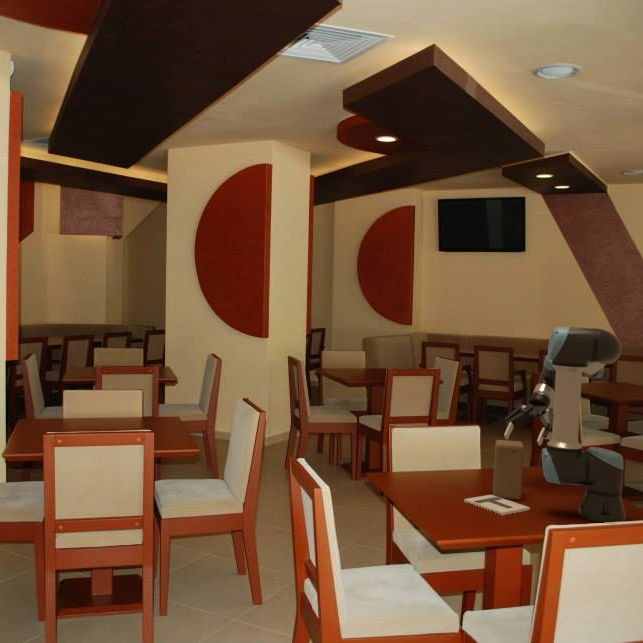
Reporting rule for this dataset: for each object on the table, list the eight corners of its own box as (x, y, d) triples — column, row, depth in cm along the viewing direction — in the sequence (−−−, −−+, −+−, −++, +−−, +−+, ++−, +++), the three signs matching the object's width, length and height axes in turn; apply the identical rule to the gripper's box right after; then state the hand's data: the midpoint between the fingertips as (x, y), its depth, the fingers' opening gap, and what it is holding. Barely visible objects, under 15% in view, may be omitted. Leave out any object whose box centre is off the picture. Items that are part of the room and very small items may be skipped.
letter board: (529, 510, 272) (529, 506, 272) (501, 515, 264) (502, 512, 264) (491, 497, 286) (491, 494, 286) (463, 501, 279) (464, 498, 278)
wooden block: (520, 500, 284) (524, 446, 283) (492, 498, 286) (496, 444, 285) (519, 493, 294) (522, 441, 293) (492, 491, 296) (495, 439, 295)
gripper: (574, 408, 302) (555, 451, 291) (515, 399, 318) (495, 440, 307) (569, 395, 297) (550, 439, 287) (509, 387, 313) (489, 429, 303)
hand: (521, 440), depth 297 cm, fingers open, 13 cm apart
